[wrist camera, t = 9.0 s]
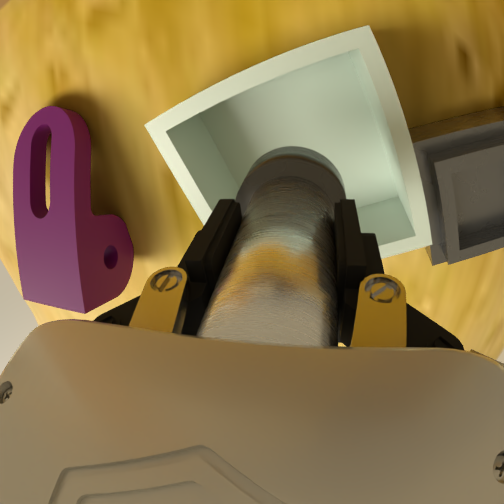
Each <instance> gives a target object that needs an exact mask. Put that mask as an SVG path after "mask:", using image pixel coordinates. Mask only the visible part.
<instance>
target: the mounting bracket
mask: <svg viewBox="0 0 504 504" xmlns="http://www.w3.org/2000/svg"><path fill="white" fill-rule="evenodd" d="M50 133H52V141H51V163H50V208H49V211H48V209H47V207H46V195H45V172H46V146H47V140H48V137H49V135H50ZM90 173H91V140H90V134H89V130H88V127H87V125H86V123H85V121H84V120H83V118H82V117H81V116H80V115H79V114H78V113H76V112H74V111H71V110H68V109H64V108H60V107H56V106H48V107H45V108H42V109H41V110H39V111H38V112H36V113H35V114H34V115H33V116H32V117H31V118H30V119H29V121H28V122H27V124H26V125H25V127H24V128H23V130H22V132H21V135H20V137H19V140H18V143H17V146H16V150H15V155H14V166H13V206H14V226H15V239H16V250H17V259H18V267H19V274H20V280H21V287H22V292H23V298H24V299H25V300H29V301H32V302H36V303H40V304H44V305H49V306H53V307H57V308H61V309H66V310H70V311H75V312H79V313H84V314H86V313H88V312H89V311H91V310H93V309H95V308H97V307H99V306H101V305H103V304H105V303H106V302H108V301H110V300H112V299H114V298H116V297H117V296H119V295H120V294H121V293H122V292H123V290H124V289H125V287H126V286H127V284H128V281H129V279H130V276H131V272H132V267H133V258H134V251H133V244H132V241H131V238H130V236H129V233H128V230H127V227H126V224H125V222H124V221H123V220H122V219H121V218H120V217H118V216H116V215H112V214H109V215H93V213H92V211H91V189H90Z"/></svg>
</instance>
